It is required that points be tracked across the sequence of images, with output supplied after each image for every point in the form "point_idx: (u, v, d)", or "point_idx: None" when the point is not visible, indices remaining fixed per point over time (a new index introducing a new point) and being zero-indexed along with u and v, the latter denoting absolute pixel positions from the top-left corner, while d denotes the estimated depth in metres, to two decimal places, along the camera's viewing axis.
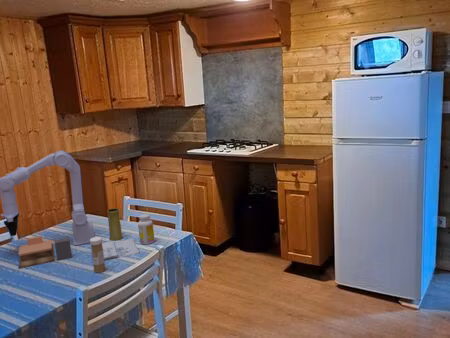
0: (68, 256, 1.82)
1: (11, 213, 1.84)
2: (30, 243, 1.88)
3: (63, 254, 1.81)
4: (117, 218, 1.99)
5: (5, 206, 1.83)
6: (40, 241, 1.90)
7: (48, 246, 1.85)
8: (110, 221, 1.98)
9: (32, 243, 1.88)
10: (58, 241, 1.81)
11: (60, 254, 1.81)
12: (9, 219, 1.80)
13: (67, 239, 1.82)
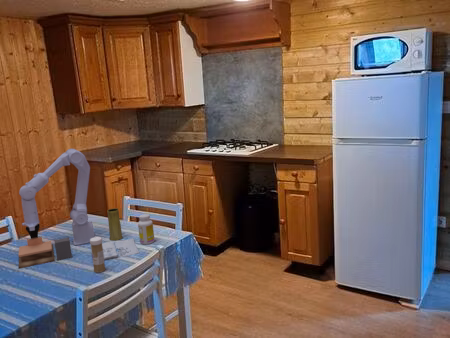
0: (68, 256, 1.82)
1: (32, 222, 1.86)
2: (30, 244, 1.87)
3: (63, 254, 1.81)
4: (117, 218, 1.99)
5: (27, 215, 1.85)
6: (40, 242, 1.88)
7: (48, 247, 1.84)
8: (110, 221, 1.98)
9: (32, 244, 1.87)
10: (58, 241, 1.81)
11: (60, 254, 1.81)
12: (31, 228, 1.82)
13: (67, 239, 1.82)
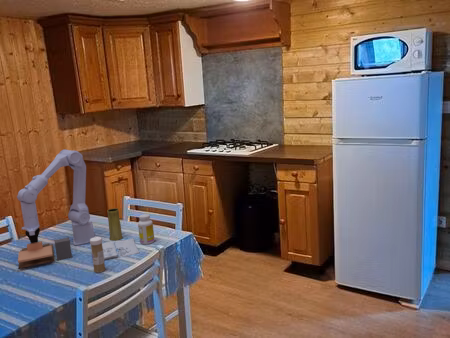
0: (68, 256, 1.82)
1: (32, 226, 1.80)
2: (30, 249, 1.81)
3: (63, 254, 1.81)
4: (117, 218, 1.99)
5: (26, 219, 1.79)
6: (40, 247, 1.83)
7: (49, 252, 1.78)
8: (110, 221, 1.98)
9: (32, 249, 1.81)
10: (58, 241, 1.81)
11: (60, 254, 1.81)
12: (31, 232, 1.76)
13: (67, 239, 1.82)
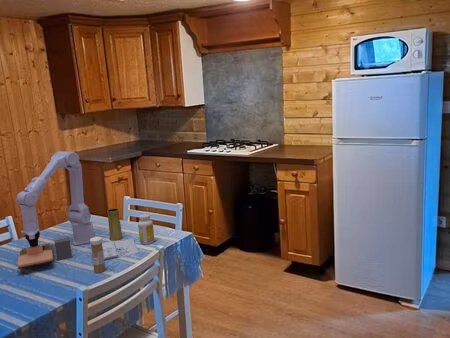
0: (68, 256, 1.82)
1: (32, 230, 1.75)
2: (30, 253, 1.76)
3: (63, 254, 1.81)
4: (117, 218, 1.99)
5: (26, 222, 1.74)
6: (40, 251, 1.78)
7: (49, 257, 1.73)
8: (110, 221, 1.98)
9: (32, 253, 1.77)
10: (58, 241, 1.81)
11: (60, 254, 1.81)
12: (31, 236, 1.71)
13: (67, 239, 1.82)
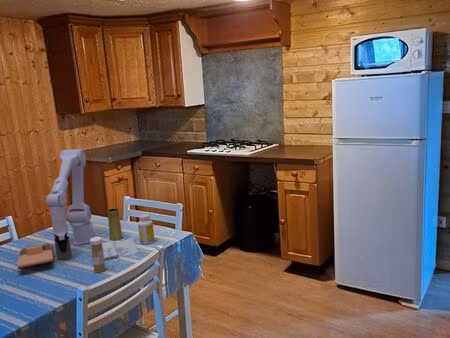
0: (68, 256, 1.82)
1: (61, 230, 1.78)
2: (30, 253, 1.76)
3: (63, 254, 1.81)
4: (117, 218, 1.99)
5: (56, 223, 1.77)
6: (40, 251, 1.78)
7: (49, 257, 1.73)
8: (110, 221, 1.98)
9: (32, 253, 1.77)
10: None
11: (60, 254, 1.81)
12: (61, 237, 1.74)
13: None
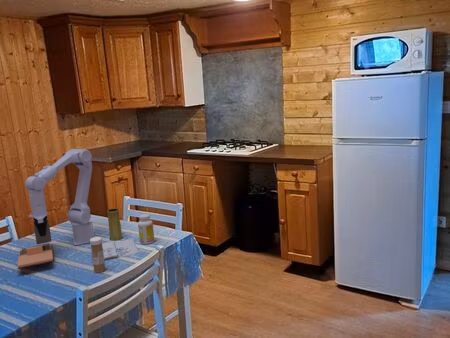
0: (48, 240, 1.83)
1: (41, 214, 1.79)
2: (30, 253, 1.76)
3: (42, 238, 1.81)
4: (117, 218, 1.99)
5: (35, 207, 1.78)
6: (40, 251, 1.78)
7: (49, 257, 1.73)
8: (110, 221, 1.98)
9: (32, 253, 1.77)
10: None
11: (39, 238, 1.81)
12: (39, 220, 1.75)
13: (47, 223, 1.83)
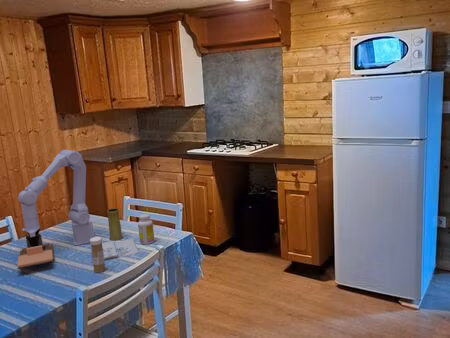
0: None
1: (33, 227, 1.81)
2: (30, 253, 1.76)
3: None
4: (117, 218, 1.99)
5: (27, 220, 1.80)
6: (40, 251, 1.78)
7: (49, 257, 1.73)
8: (110, 221, 1.98)
9: (32, 253, 1.77)
10: None
11: None
12: (31, 234, 1.77)
13: None
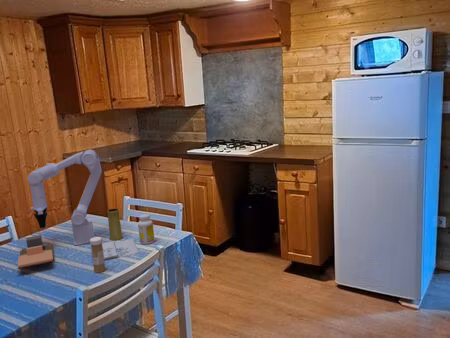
0: None
1: (40, 206, 1.91)
2: (30, 253, 1.76)
3: None
4: (117, 218, 1.99)
5: (35, 199, 1.90)
6: (40, 251, 1.78)
7: (49, 257, 1.73)
8: (110, 221, 1.98)
9: (32, 253, 1.77)
10: (30, 238, 1.83)
11: None
12: (39, 212, 1.87)
13: (39, 236, 1.85)
